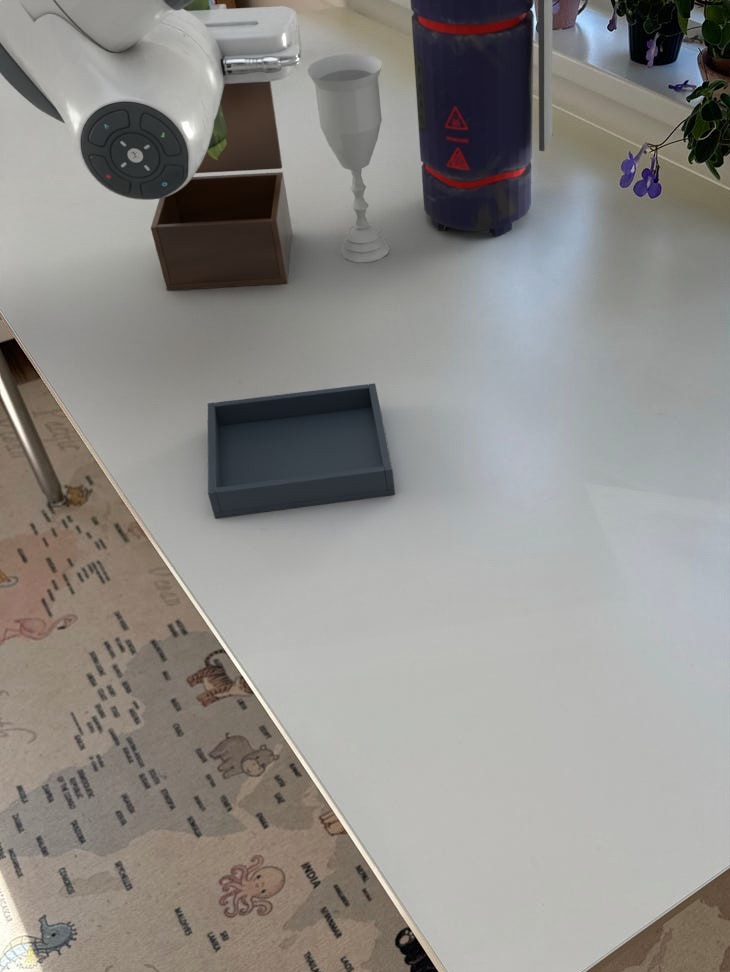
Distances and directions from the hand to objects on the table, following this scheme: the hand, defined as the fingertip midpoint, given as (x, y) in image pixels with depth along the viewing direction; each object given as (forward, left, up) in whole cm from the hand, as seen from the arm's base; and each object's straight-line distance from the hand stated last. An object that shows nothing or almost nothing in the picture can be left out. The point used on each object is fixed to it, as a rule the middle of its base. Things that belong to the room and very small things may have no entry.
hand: (186, 16), depth 90 cm
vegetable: (0, -1, -12) cm, 12 cm away
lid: (0, +9, -11) cm, 14 cm away
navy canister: (+27, +7, -24) cm, 37 cm away
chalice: (+13, +2, -24) cm, 28 cm away
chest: (-1, +3, -24) cm, 24 cm away
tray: (+4, -33, -24) cm, 41 cm away
